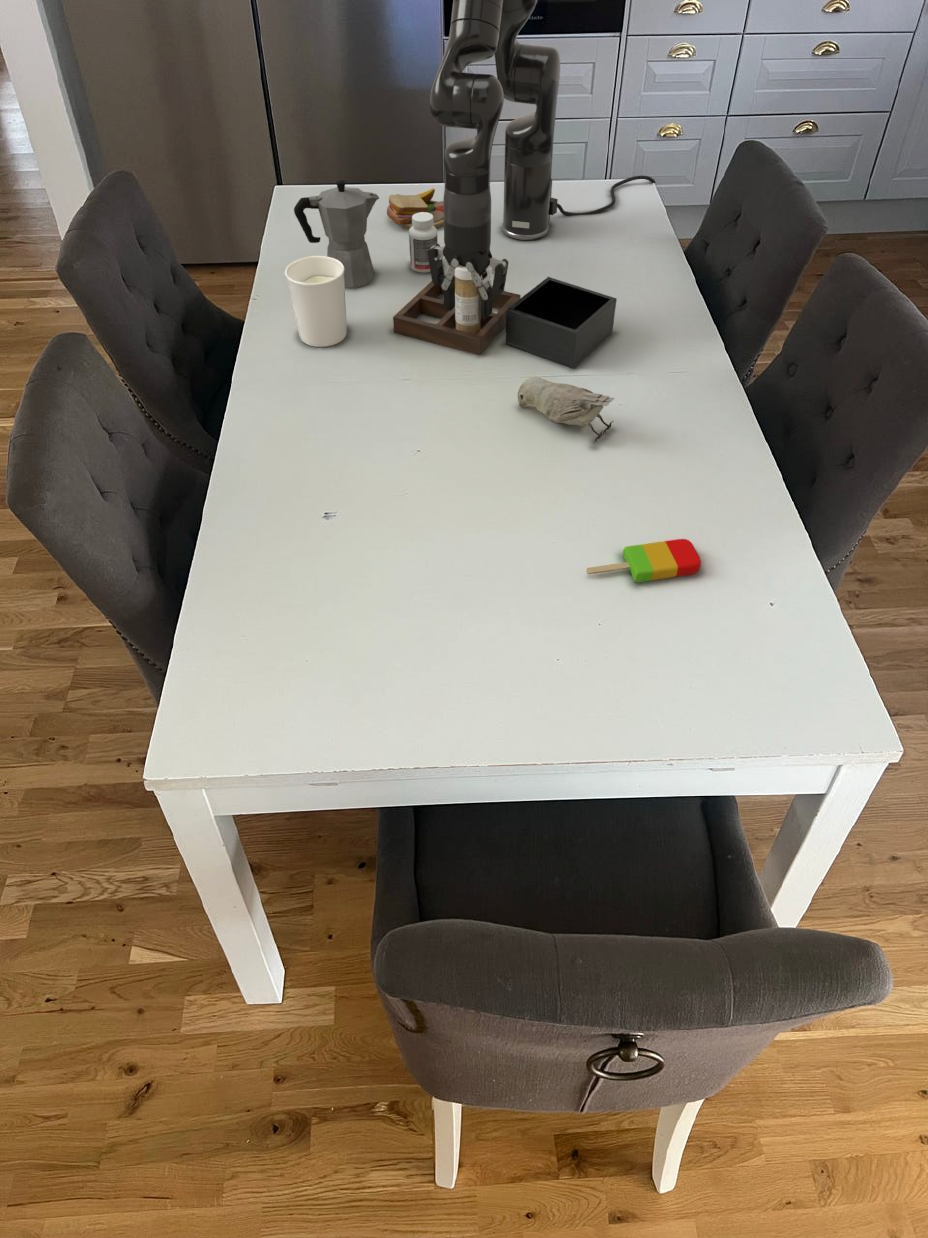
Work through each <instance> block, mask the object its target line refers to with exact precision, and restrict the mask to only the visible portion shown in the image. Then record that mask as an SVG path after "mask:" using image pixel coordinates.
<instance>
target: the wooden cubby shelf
mask: <svg viewBox="0 0 928 1238" xmlns="http://www.w3.org/2000/svg"><path fill="white" fill-rule="evenodd" d="M453 286H455V281H454V283H453ZM441 295H442V296H443V289H442V287H441V286H440V285H438V284H436V285H435V284H433V283H432V280H431V281H430V282H429V283H427V285H426V286H424V287H423V288H422V289H421V290H420V291H419V292H418V293H417V294H416V295H415V296H414V297H412V299H410V301H408V302H407V303H406V304H405V305H404V306H403V307H402V308H401V309H400V310H398V312H396V313H395V314H394V315H393V317H392V322H393V333H395V334H397V335H401V336H402V335H403V336H405V337H409V338H413V339H417V340H421V341H424V342H428V343H432V344H436V345H439V346H443V347H447V348H450V349H454V350H457V351H462V352H465V353H469V354H474V355H477V356H481V355H482V353H483V352H484V351H485V350H486V349H487V348H488V347H489V346H490V344H491V343H492V342H493V341H494V340H495V339H496V338H497V337H498V336H499V334H500V333H502V331H503V330H504V329H506V310H507V309H508V308H509V307H510V306H511V305H513V304H514V303H515V302H517V301H518V300H519V299H520V298H522V295H521V294H518V293H515V292H510V291H506V290H504V291H503V292H502V293H501V294H500V296H499V297H498V298H497V299H494V298H493V307H492V308H496V309H499V310H498V311H497V312H492V313H491V314H490V315H489V316H488V317H487V318H486V319H480V332H479V333H478V334H477V335H475V334H471V333H468V332H464V331H460V330H456V320H455V307H454V308H453V309H452V310H451V311H448V310H446V306H444V303H443V299H439V297H440V296H441ZM480 296H481V294H480ZM481 298H482V297H480V302H481ZM420 315H425V316H428V317H433V318H437V319H439V320H438V321H437V322H436V323H434V322H433V323H432V322H429V321H425V320H420V319H417V318H418V317H420Z"/></svg>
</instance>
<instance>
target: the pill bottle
mask: <svg viewBox="0 0 928 1238" xmlns="http://www.w3.org/2000/svg"><path fill="white" fill-rule="evenodd" d="M433 223H434V221H433V215H432V214H430V213H427V212H420V213H416V214H414V215H413V216H412V225H413V226H412V227H411V228H410V229H409V230H408V243H409V260H410V261H409V262H410V268H411V269H412V270H413V271H414V272H418V273H426V274H427V273H431V272H430V266H429V260H428V253H427V251H428V250H429V249H430V248H431V247H432V246H433V245H435V244H439V243H438V230H437V227H436V228H435V227H434V226H433Z"/></svg>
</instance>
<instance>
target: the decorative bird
mask: <svg viewBox="0 0 928 1238" xmlns="http://www.w3.org/2000/svg"><path fill="white" fill-rule="evenodd" d="M614 400H615V397H610V396H609V395H604V394H602V393H597V392H596V393H595V392H594V391H591V389H590V390H589V389H587V388H584V387H579V386H576V385H573V384H569V383H561V382H553V381H549V380H547V379H544V378H541V377H536V376H535V377H533V376H532V377H528V378H526V379H525V380H524V381H523V382H522V383H521V385H520V386H519V389H518V391H517V403H518V406H519V407H525V406H533V407H535V408H536V410H538V411H539V413H540V412H541V413H542V414H543V415H544V416H545V417H546V418H547V419H549V421H551V422H552V423H555V424H558V423H562V424H566V425H570V426H578V427H579V426H580V427H585V426H587V427H589V428H590V429H591V431H592V432H593V433H594V434H595V435H596V436H597V437H596V438H595V439H594V441H593V444H595V443H597V442H598V441H597V440H600V439H601V437H602V436H603V435H604V434H606V432H607V431H608V430H610V428H611V427H612V424H613V423H614V421H615V420H612V421H610V422H609V424H608V423H606V422H605V421H604V419H603V417H602V415H601V414H600V413H601V411H602V410H603V409H604V407H608V405H609V404H610V403H611V402H613V401H614ZM596 418H598V419H599V420H600V421H601V423H602V424H603V425H604V426H605V427H606V428H605V429H603V430H601V432H597V431H596V430H595V428H594V426H593V425H592V422H593V421H595V419H596Z"/></svg>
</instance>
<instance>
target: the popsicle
mask: <svg viewBox="0 0 928 1238" xmlns="http://www.w3.org/2000/svg"><path fill="white" fill-rule="evenodd" d="M622 557H623V558H624V562H617V563H612V564H611V563H610V564H604V565H597V566H591V567H587V568H586V574H587V575H594V574H602V573H607V572H608V573H609V572H616V571H621V570H629V572H630V574H631V577H632V578H633V581H634V583H642V582H651V581H656V580H657V581H658V580H664V579H671V578H676V577H683V576H691V575H694V574H697V573H698V572H699V571H700V569H701V565H702V560H701V557H700V555H699V553H698V552H697V549H696V548H695V546H694V544H693V542H692V541H691V540H689V539H687V538H677V539H669V540H663V541H655V542H648V543H642V544H636V545H629V546H625V547H624V548H623V551H622Z"/></svg>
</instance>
